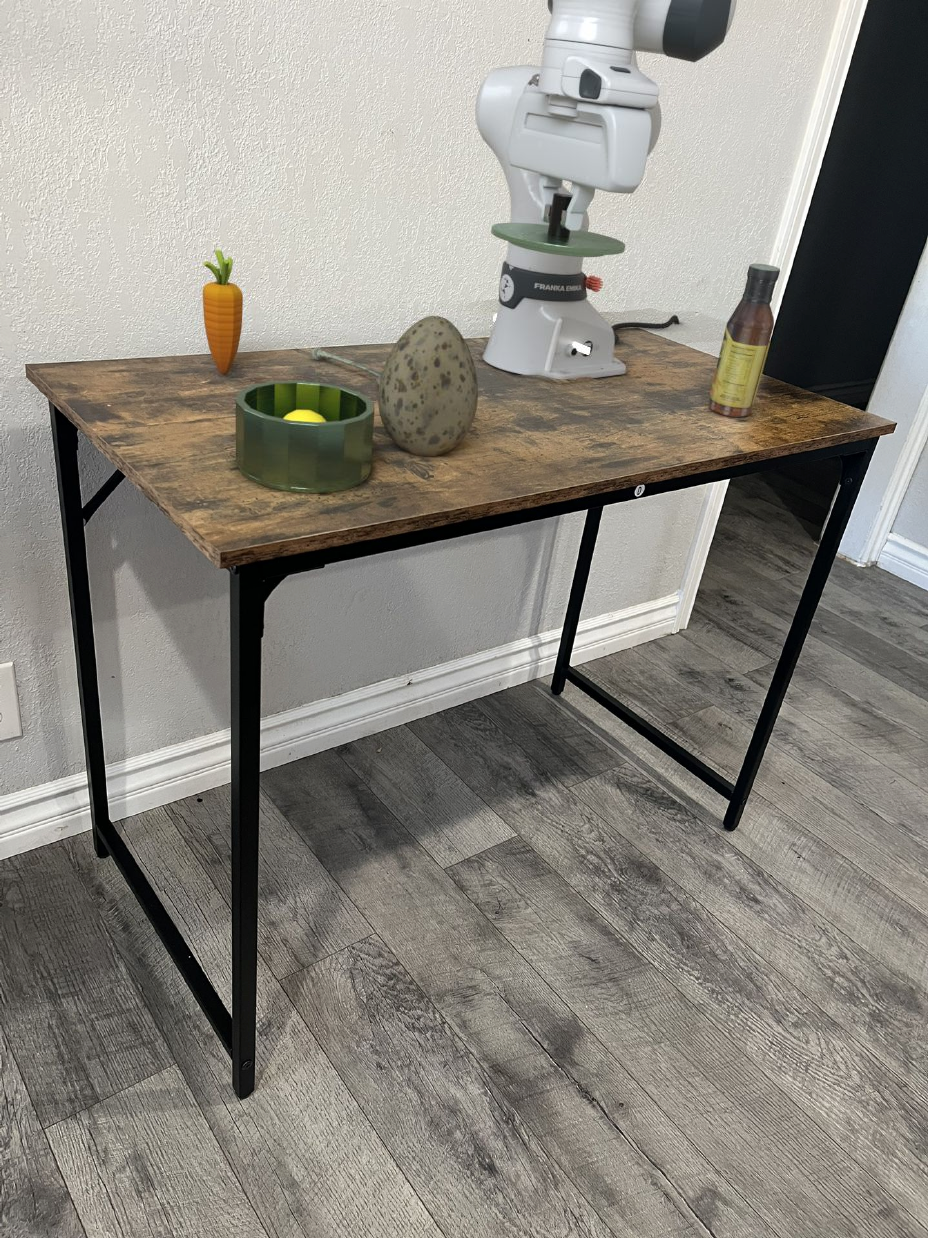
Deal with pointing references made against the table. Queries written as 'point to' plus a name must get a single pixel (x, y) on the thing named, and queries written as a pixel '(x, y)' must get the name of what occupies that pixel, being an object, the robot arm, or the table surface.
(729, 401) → the sauce bottle
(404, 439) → the decorative egg
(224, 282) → the carrot
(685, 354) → the table surface
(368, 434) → the pot
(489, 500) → the table surface
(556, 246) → the pot lid
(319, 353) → the soupspoon
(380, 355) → the table surface
